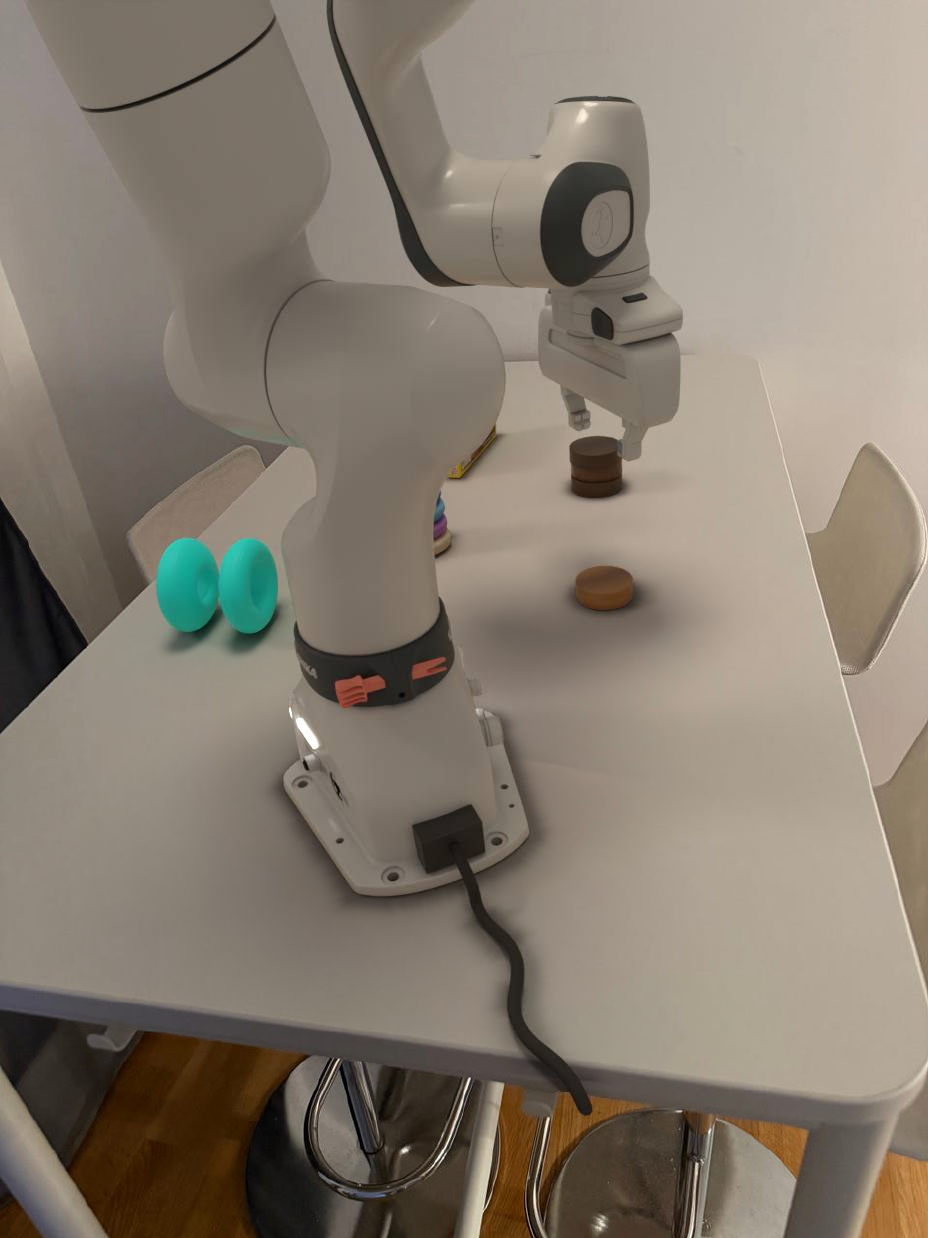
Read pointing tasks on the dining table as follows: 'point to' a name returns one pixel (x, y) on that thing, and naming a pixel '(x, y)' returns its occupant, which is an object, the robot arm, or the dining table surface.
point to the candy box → (472, 456)
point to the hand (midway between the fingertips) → (603, 442)
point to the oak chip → (604, 587)
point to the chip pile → (595, 467)
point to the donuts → (217, 585)
